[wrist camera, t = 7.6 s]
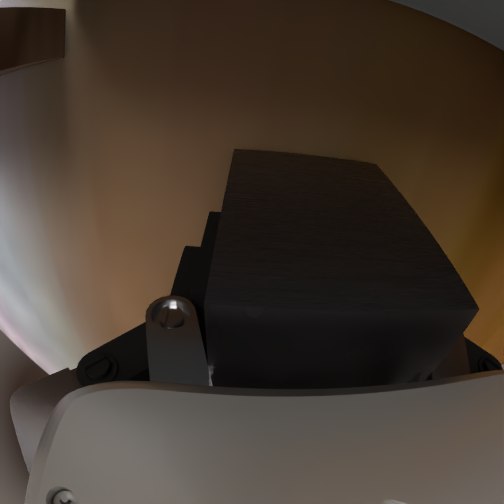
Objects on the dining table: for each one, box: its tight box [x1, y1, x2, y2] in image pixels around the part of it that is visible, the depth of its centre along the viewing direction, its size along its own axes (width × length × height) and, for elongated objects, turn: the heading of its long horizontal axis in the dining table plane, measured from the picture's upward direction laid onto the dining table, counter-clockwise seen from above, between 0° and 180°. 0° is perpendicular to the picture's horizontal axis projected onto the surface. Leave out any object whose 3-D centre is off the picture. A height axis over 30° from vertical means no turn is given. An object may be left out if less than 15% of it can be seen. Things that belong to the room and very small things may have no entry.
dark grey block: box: [204, 149, 479, 389], centre depth 10 cm, size 7×5×7 cm
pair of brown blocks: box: [0, 7, 65, 76], centre depth 5 cm, size 2×30×6 cm, turn 86°
